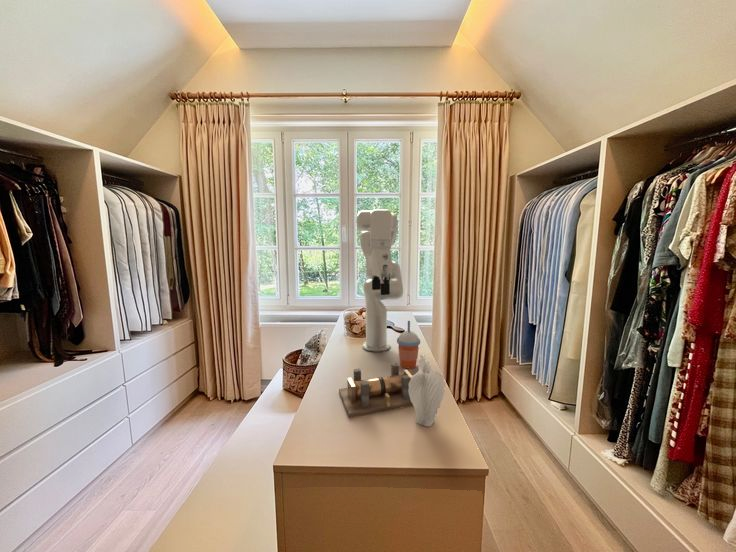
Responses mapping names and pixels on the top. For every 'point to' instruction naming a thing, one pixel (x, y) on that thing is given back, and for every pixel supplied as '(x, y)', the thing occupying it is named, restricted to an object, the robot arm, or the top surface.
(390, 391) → the copper tube
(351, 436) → the top surface
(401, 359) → the cup with straw
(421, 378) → the shell sculpture
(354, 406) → the collar board
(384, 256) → the robot arm
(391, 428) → the top surface
